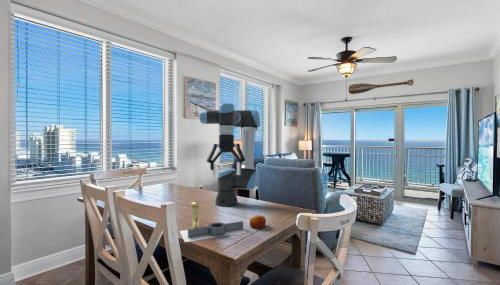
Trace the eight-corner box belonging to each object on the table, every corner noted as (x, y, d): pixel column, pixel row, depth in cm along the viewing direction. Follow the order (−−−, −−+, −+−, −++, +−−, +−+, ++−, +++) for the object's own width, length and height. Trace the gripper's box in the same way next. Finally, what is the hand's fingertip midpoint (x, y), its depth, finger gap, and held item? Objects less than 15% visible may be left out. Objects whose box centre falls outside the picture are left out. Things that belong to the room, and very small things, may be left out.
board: (179, 233, 119) (179, 230, 119) (235, 225, 131) (235, 222, 130) (184, 245, 106) (184, 242, 106) (246, 234, 118) (246, 232, 118)
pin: (189, 229, 121) (189, 202, 121) (198, 228, 123) (198, 201, 123) (191, 232, 117) (191, 204, 117) (201, 231, 119) (201, 203, 119)
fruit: (255, 231, 118) (251, 214, 122) (249, 235, 124) (246, 218, 128) (270, 228, 121) (266, 212, 125) (264, 232, 128) (260, 216, 131)
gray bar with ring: (186, 234, 115) (186, 226, 115) (239, 226, 125) (239, 219, 125) (189, 240, 107) (189, 232, 107) (246, 231, 118) (246, 224, 118)
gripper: (204, 133, 121) (204, 178, 122) (251, 134, 132) (251, 175, 133) (200, 134, 128) (200, 176, 128) (245, 134, 139) (245, 173, 140)
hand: (226, 175), depth 131 cm, fingers open, 13 cm apart
